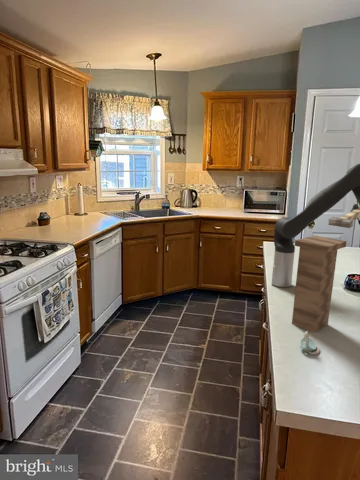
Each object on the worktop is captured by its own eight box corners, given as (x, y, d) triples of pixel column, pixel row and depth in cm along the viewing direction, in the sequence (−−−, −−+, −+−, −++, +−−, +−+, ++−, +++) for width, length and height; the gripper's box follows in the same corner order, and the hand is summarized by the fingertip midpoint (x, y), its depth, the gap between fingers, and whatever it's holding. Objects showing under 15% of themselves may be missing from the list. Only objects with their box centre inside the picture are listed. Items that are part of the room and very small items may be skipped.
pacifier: (319, 347, 114) (300, 342, 117) (322, 329, 113) (303, 325, 115) (318, 358, 108) (298, 353, 110) (321, 340, 106) (301, 335, 109)
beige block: (349, 228, 128) (349, 221, 127) (328, 224, 134) (328, 218, 133) (376, 212, 142) (376, 206, 141) (356, 209, 148) (356, 204, 147)
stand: (316, 335, 122) (327, 246, 115) (286, 322, 131) (295, 240, 123) (335, 323, 131) (346, 241, 124) (306, 312, 139) (314, 235, 132)
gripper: (356, 213, 156) (344, 196, 145) (390, 218, 146) (380, 199, 135) (351, 228, 155) (338, 212, 144) (385, 234, 145) (373, 217, 134)
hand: (358, 206), depth 139 cm, fingers closed on beige block, 2 cm apart
